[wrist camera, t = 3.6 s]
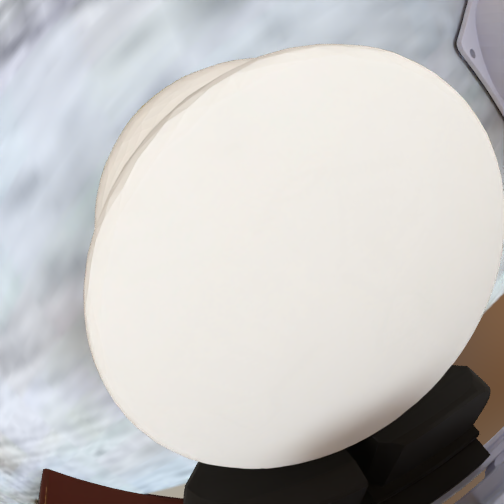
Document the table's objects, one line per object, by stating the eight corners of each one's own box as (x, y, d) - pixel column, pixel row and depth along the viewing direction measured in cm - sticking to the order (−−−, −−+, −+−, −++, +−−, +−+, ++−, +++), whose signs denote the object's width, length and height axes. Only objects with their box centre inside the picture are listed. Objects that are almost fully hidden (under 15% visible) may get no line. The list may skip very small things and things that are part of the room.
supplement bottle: (156, 255, 10) (168, 511, 3) (120, 118, 8) (-73, 93, 1) (288, 221, 11) (473, 384, 4) (269, 88, 9) (520, 43, 2)
